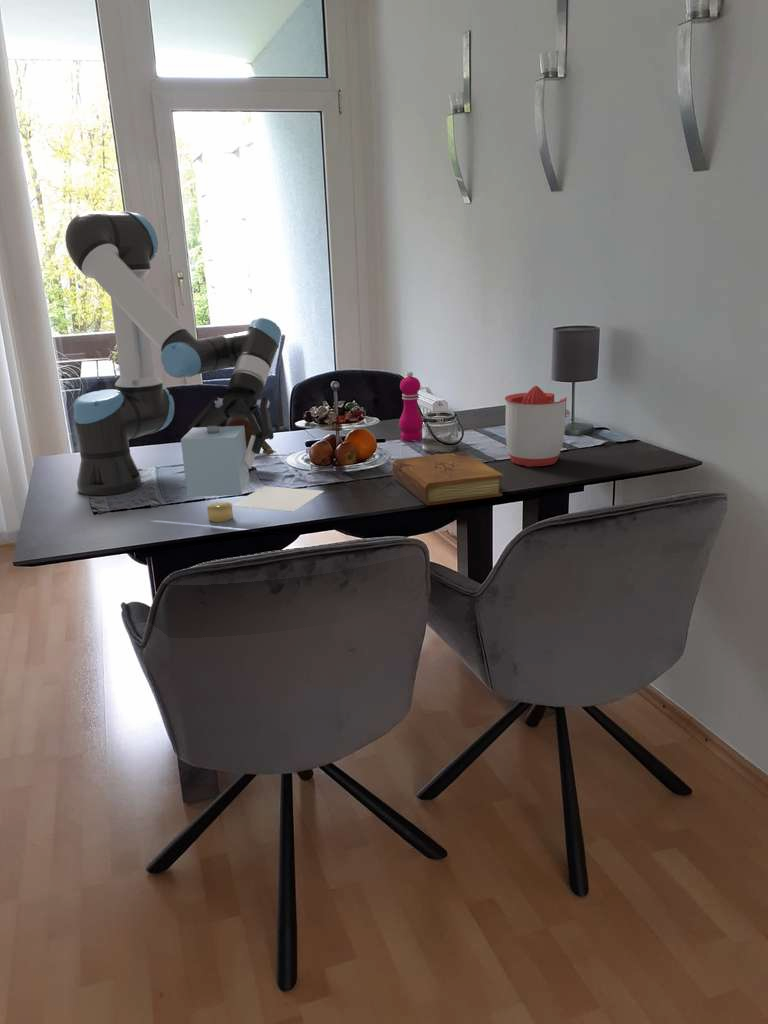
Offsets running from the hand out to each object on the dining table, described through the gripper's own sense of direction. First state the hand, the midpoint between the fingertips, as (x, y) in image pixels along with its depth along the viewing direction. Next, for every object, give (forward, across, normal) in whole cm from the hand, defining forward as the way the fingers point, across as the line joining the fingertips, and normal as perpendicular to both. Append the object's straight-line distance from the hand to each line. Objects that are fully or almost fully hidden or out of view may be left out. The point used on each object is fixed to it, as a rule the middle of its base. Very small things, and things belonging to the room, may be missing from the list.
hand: (219, 463), depth 171 cm
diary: (-15, -39, -34) cm, 54 cm away
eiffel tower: (-30, +24, -47) cm, 61 cm away
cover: (+5, -1, -2) cm, 5 cm away
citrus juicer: (-36, -56, -54) cm, 85 cm away
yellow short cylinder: (+10, 0, -8) cm, 12 cm away
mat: (-2, -5, -19) cm, 20 cm away
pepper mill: (-48, -15, -66) cm, 83 cm away
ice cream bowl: (-17, +15, -34) cm, 41 cm away
